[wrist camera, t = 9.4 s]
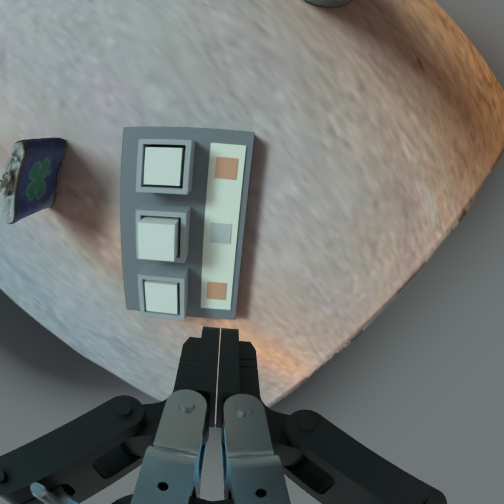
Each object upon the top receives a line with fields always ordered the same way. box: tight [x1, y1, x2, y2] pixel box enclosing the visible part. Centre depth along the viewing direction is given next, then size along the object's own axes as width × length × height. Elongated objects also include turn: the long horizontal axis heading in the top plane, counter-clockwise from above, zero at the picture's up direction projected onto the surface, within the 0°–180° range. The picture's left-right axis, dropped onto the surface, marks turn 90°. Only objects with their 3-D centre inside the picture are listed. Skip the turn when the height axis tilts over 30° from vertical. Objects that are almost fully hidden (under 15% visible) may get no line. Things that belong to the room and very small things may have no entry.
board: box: [120, 127, 255, 320], centre depth 30 cm, size 22×14×5 cm, turn 174°
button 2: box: [144, 147, 186, 186], centre depth 26 cm, size 4×4×3 cm
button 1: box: [145, 280, 180, 314], centre depth 31 cm, size 4×4×3 cm
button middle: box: [138, 216, 180, 261], centre depth 27 cm, size 4×4×3 cm
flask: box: [0, 138, 67, 224], centre depth 23 cm, size 9×3×11 cm, turn 157°
